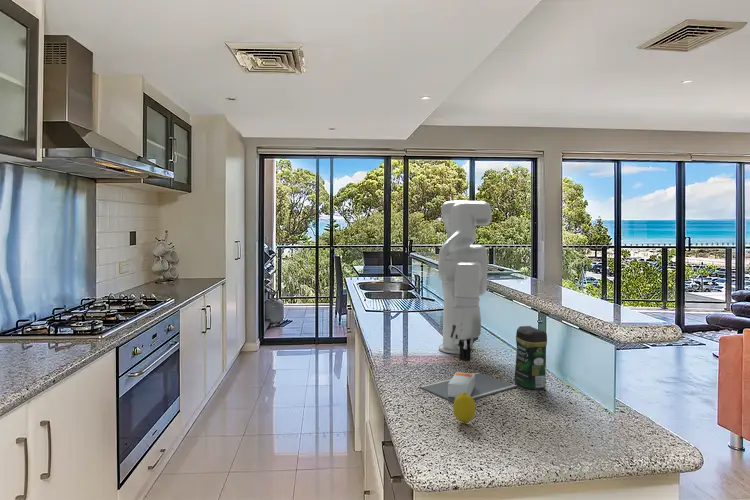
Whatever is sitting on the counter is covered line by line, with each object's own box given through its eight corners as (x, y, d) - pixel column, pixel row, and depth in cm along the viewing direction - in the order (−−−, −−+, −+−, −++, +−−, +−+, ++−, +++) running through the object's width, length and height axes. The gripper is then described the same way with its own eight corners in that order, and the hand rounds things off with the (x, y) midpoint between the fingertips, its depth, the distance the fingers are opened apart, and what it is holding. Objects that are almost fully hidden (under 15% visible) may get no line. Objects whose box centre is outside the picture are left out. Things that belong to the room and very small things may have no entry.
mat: (477, 373, 163) (478, 372, 163) (516, 387, 150) (516, 385, 150) (420, 387, 148) (420, 386, 148) (457, 404, 135) (457, 402, 135)
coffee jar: (510, 381, 156) (512, 324, 155) (531, 379, 158) (533, 323, 157) (527, 391, 147) (529, 331, 146) (549, 389, 149) (552, 330, 148)
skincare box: (475, 373, 148) (468, 385, 137) (475, 386, 148) (468, 400, 137) (455, 371, 150) (447, 383, 139) (455, 384, 151) (447, 397, 139)
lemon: (450, 419, 125) (451, 388, 124) (471, 418, 125) (472, 388, 125) (455, 428, 119) (456, 396, 119) (477, 427, 120) (478, 396, 119)
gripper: (474, 298, 157) (472, 354, 158) (440, 302, 148) (439, 361, 149) (492, 302, 151) (490, 359, 152) (458, 306, 142) (456, 367, 143)
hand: (464, 360), depth 150 cm, fingers closed
